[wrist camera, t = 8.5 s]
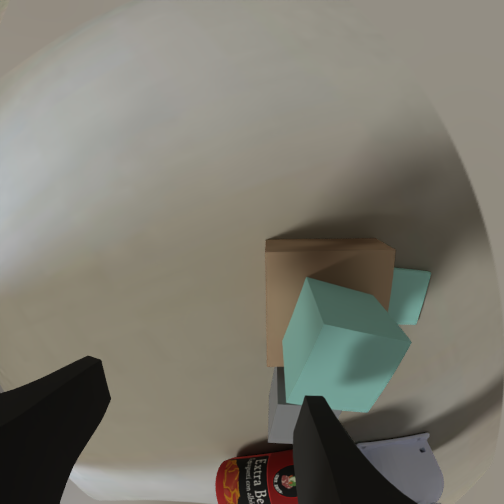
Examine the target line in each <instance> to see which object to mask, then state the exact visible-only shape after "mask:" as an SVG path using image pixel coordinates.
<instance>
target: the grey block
mask: <svg viewBox="0 0 504 504" xmlns="http://www.w3.org/2000/svg"><path fill="white" fill-rule="evenodd" d="M301 407H302V405H297V404H291V403H286V390H285V374H284V367H275V368H274V373H273V378H272V384H271V389H270V394H269V422H268V443H285V444H293V431H294V428H295V425H296V422H297V419H298V416H299V413H300V410H301ZM332 411H333V412H334V414H335V416H336V417H337V419H338V418H339V416H340V414H341V411H342V410H333V409H332Z"/></svg>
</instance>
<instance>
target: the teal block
mask: <svg viewBox="0 0 504 504" xmlns="http://www.w3.org/2000/svg"><path fill="white" fill-rule="evenodd" d="M411 343H412V342H411V341H410V339H409V338H408V337H407V336H406V334H405V333H404V332H403V331H402V329H401V328H400V327H399V326H398V324H397V323H396V322H395V321H394V320H393V318H392V317H391V316H390V315H389V313H388V312H387V311H386V310H385V309H384V307H383V306H382V305H381V304H380V303H379V302H378V300H377V299H376V298H375V297H374V296H373V295H371V294H367V293H363V292H360V291H356V290H352V289H349V288H345V287H341V286H338V285H334V284H330V283H327V282H323V281H320V280H316V279H312V278H309V277H306V279H305V282H304V285H303V287H302V290H301V293H300V296H299V298H298V301H297V304H296V306H295V309H294V312H293V314H292V317H291V320H290V322H289V325H288V328H287V330H286V333H285V335H284V338H283V340H282V345H283V359H284V374H285V390H286V403H291V404H297V405H302V403H303V400H304V397H305V395H309V396H323V397H324V398H325V399H326V401H327V403H328V404H329V406H330V408H331V409H333V410H343V411H354V412H368V411H369V410H370V409H371V407H372V406H373V404H374V403H375V401H376V400H377V398H378V397H379V396H380V394H381V393H382V391H383V390H384V388H385V387H386V385H387V383H388V382H389V380H390V379H391V377H392V375H393V374H394V372H395V371H396V369H397V367H398V366H399V364H400V362H401V360H402V359H403V357H404V355H405V354H406V352H407V350H408V348H409V346H410V344H411Z"/></svg>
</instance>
